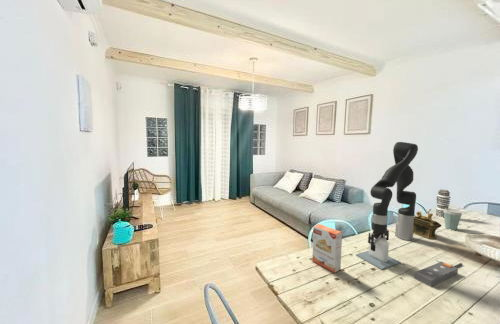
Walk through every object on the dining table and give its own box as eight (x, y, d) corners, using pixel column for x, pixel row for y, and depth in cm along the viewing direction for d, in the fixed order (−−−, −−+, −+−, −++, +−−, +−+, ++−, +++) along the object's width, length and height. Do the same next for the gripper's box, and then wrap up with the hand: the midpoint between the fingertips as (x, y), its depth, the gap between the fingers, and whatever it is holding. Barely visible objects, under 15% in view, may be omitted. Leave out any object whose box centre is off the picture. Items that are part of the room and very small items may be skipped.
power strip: (413, 277, 106) (413, 270, 106) (452, 261, 121) (453, 255, 121) (430, 286, 100) (431, 279, 99) (470, 268, 115) (470, 261, 114)
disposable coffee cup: (456, 227, 170) (458, 209, 168) (463, 232, 160) (465, 213, 158) (439, 225, 174) (441, 207, 173) (445, 230, 164) (446, 211, 163)
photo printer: (367, 254, 127) (368, 234, 126) (372, 253, 129) (373, 233, 128) (384, 263, 118) (385, 241, 117) (389, 261, 120) (390, 240, 118)
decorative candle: (450, 220, 186) (452, 191, 184) (436, 218, 191) (438, 190, 189) (447, 216, 194) (449, 189, 192) (434, 215, 199) (436, 188, 197)
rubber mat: (355, 255, 127) (355, 254, 127) (373, 249, 134) (373, 249, 134) (381, 269, 113) (381, 268, 113) (400, 263, 119) (400, 262, 119)
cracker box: (311, 261, 120) (312, 225, 119) (318, 258, 124) (319, 223, 122) (334, 273, 109) (336, 234, 107) (341, 269, 113) (342, 231, 111)
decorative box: (441, 238, 150) (443, 211, 148) (432, 240, 147) (434, 212, 145) (411, 228, 169) (413, 203, 167) (402, 229, 165) (404, 204, 164)
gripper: (381, 217, 128) (380, 243, 129) (364, 221, 122) (363, 248, 123) (394, 222, 121) (392, 249, 122) (377, 226, 115) (375, 254, 117)
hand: (378, 249), depth 123 cm, fingers open, 8 cm apart
